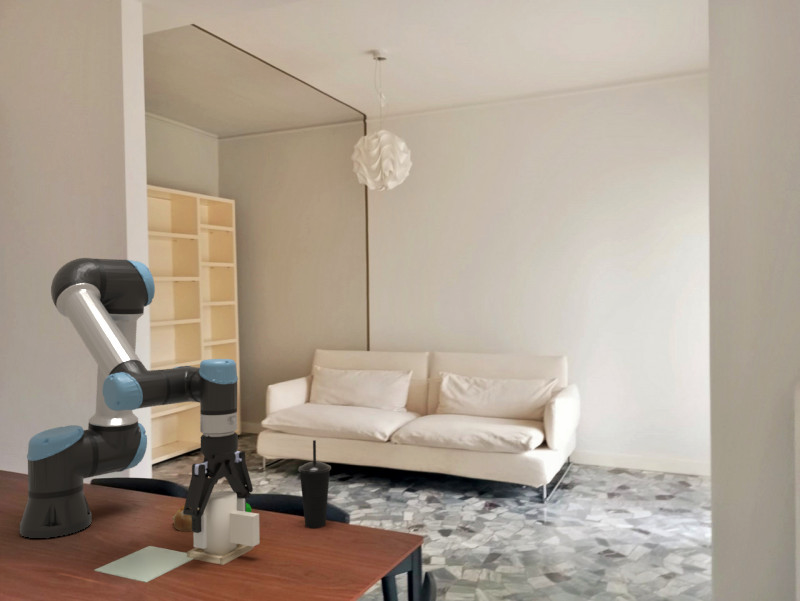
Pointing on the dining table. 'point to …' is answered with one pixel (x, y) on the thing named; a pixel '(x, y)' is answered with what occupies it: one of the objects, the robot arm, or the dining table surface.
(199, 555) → the holder
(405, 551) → the dining table surface
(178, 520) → the bread roll
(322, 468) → the drinking cup
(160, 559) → the plate
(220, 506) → the white cylinder with tab
